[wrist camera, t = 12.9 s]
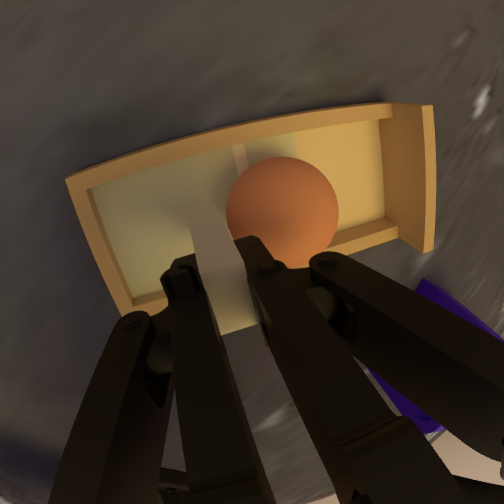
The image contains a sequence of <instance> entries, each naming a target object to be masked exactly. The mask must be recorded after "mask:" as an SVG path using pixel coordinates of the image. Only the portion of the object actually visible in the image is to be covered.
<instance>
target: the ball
mask: <svg viewBox="0 0 504 504" xmlns="http://www.w3.org/2000/svg"><path fill="white" fill-rule="evenodd" d="M226 218H227V224H228V228H229V231H230V234H231V236H232V238H233V240H236V239H240V238H243V237H246V236H250V235H253V236H256V237H258V238H260V240H261V241H262V242H263V244H264V245H265V247H266V248H267V249H268V251H269V252H270V254H271V255H272V256H273V258H274V259H275V260H279V261H282V262H283V263H284V264H285V265H286V266H287V268H295V267H299V266H302V265H304V264H306V263H309V260H310V258H311V257H313V256H314V255H316V254H318V253H321V252H323V251H324V250H325V249H326V248H327V247H328V245H329V244H330V242H331V240H332V239H333V237H334V234H335V232H336V229H337V225H338V218H339V208H338V201H337V197H336V194H335V191H334V189H333V187H332V185H331V184H330V182H329V181H328V179H327V178H326V177H325V176H324V174H323V173H322V172H321V171H319V170H318V169H317V168H316V167H314V166H313V165H311V164H309V163H307V162H305V161H303V160H300V159H297V158H292V157H272V158H268V159H264V160H261V161H259V162H257V163H255V164H254V165H252V166H250V167H249V168H248V169H246V170H245V171H244V172H243V173H242V174H241V175H240V176H239V177H238V179H237V180H236V182H235V183H234V185H233V187H232V189H231V191H230V193H229V197H228V200H227V207H226Z"/></svg>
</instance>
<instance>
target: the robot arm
mask: <svg viewBox="0 0 504 504" xmlns="http://www.w3.org/2000/svg"><path fill="white" fill-rule="evenodd" d="M187 217H188V222H189V227H190V232H191V237H192V241H193V246H194V251H195V253H193V254H189V255H186V256H183V257H180V258H176V259H174V261H173V262H172V264H171V266H170V268H169V269H168V270H166V271H165V272H164V273H163V274H162V275H161V277H160V282H161V284H162V287H163V289H164V292H165V294H166V297H167V299H168V306H167V307H166V308H165V309H164V310H162V311H161V312H159V313H157V314H155V315H153V316H151V317H150V315H149V314H148V312H145V311H134V312H130V313H128V314H126V315H124V316H123V317H122V318H120V319H119V320H118V322H117V323H116V324H115V326H114V329H113V331H112V333H111V335H110V337H109V339H108V342H107V344H106V346H105V348H104V351H103V353H102V355H101V357H100V360H99V362H98V364H97V367H96V369H95V371H94V374H93V376H92V379H91V381H90V383H89V386H88V388H87V391H86V393H85V396H84V398H83V401H82V403H81V406H80V409H79V411H78V414H77V416H76V419H75V422H74V425H73V427H72V430H71V433H70V436H69V438H68V441H67V444H66V447H65V450H64V453H63V456H62V459H61V462H60V465H59V468H58V471H57V474H56V478H55V481H54V484H53V488H52V491H51V494H50V498H49V501H48V504H276V501H275V498H274V496H273V493H272V490H271V487H270V485H269V482H268V479H267V476H266V473H265V470H264V468H263V465H262V462H261V459H260V456H259V453H258V450H257V447H256V444H255V441H254V438H253V435H252V432H251V429H250V426H249V423H248V420H247V417H246V414H245V411H244V408H243V404H242V401H241V398H240V395H239V392H238V389H237V385H236V382H235V379H234V375H233V372H232V369H231V365H230V362H229V359H228V355H227V352H226V349H225V345H224V342H223V339H222V337H221V335H224V334H227V333H231V332H234V331H237V330H240V329H243V328H246V327H249V326H253V325H256V324H259V321H260V325H261V329H262V333H263V337H264V341H265V345H266V346H269V348H270V350H271V352H272V355H273V357H274V359H275V361H276V363H277V366H278V368H279V370H280V372H281V374H282V377H283V379H284V381H285V383H286V385H287V388H288V390H289V392H290V394H291V396H292V398H293V401H294V403H295V405H296V407H297V409H298V411H299V414H300V416H301V418H302V420H303V422H304V424H305V426H306V429H307V431H308V433H309V435H310V437H311V439H312V441H313V443H314V445H315V448H316V450H317V452H318V454H319V456H320V458H321V460H322V462H323V464H324V466H325V469H326V471H327V473H328V475H329V477H330V479H331V481H332V483H333V486H334V488H335V491H336V495H337V498H338V500H339V503H340V504H504V486H502V485H496V484H491V483H486V482H482V481H477V480H473V479H469V478H464V477H460V476H456V475H452V474H451V473H450V471H449V470H448V468H447V467H446V465H445V464H444V463H443V461H442V460H441V458H440V457H439V456H438V454H437V453H436V452H435V450H434V449H433V447H432V446H431V444H430V443H429V442H428V440H427V439H426V437H425V436H424V435H423V433H422V432H421V431H420V429H419V428H418V426H417V425H416V424H415V423H414V422H413V421H412V420H411V419H410V418H408V417H406V416H396V415H395V414H394V413H393V412H392V411H391V410H390V408H389V407H388V405H387V404H386V402H385V401H384V400H383V398H382V397H381V395H380V394H379V393H378V391H377V390H376V388H375V387H374V386H373V384H372V383H371V381H370V380H369V379H368V377H367V376H366V374H365V373H364V372H363V370H362V369H361V367H360V366H359V365H358V363H357V362H356V360H355V359H354V358H353V356H354V357H355V358H357V359H358V360H359V361H360V362H362V363H363V364H364V365H365V366H367V367H368V368H369V369H370V370H372V371H373V372H374V373H375V374H377V375H378V376H379V377H380V378H382V379H383V380H384V381H385V382H387V383H388V384H389V385H390V386H392V387H393V388H394V389H395V390H397V391H398V392H399V393H401V394H402V395H403V396H404V397H406V398H407V399H408V400H409V401H411V402H412V403H413V404H414V405H416V406H417V407H418V408H420V409H421V410H422V411H423V412H425V413H426V414H427V415H429V416H430V417H431V418H432V419H434V420H435V421H436V422H438V423H439V424H440V425H441V426H443V427H444V428H445V429H447V430H448V431H449V432H450V433H452V434H453V435H454V436H456V437H457V438H458V439H460V440H461V441H462V442H463V443H465V444H466V445H468V446H469V447H471V448H472V449H474V450H475V451H477V452H478V453H480V454H482V455H484V456H486V457H489V458H490V459H493V460H496V461H499V462H501V465H502V467H501V468H500V476H501V478H502V479H503V480H504V342H503V341H501V340H500V339H498V338H496V337H494V336H493V335H491V334H489V333H488V332H486V331H484V330H482V329H481V328H479V327H477V326H475V325H474V324H472V323H470V322H468V321H467V320H465V319H463V318H461V317H460V316H458V315H456V314H454V313H452V312H451V311H449V310H447V309H445V308H444V307H442V306H440V305H438V304H436V303H434V302H433V301H431V300H429V299H427V298H425V297H424V296H422V295H420V294H418V293H416V292H414V291H412V290H411V289H409V288H407V287H405V286H403V285H401V284H399V283H398V282H396V281H394V280H392V279H390V278H388V277H386V276H384V275H382V274H381V273H379V272H377V271H375V270H373V269H371V268H369V267H367V266H365V265H363V264H361V263H359V262H357V261H356V260H354V259H352V258H350V257H348V256H346V255H344V254H342V253H339V252H333V251H326V252H321V253H318V254H316V255H314V256H313V257H311V258H310V260H309V267H305V268H296V269H291V268H287V266H286V265H285V264H284V263H283V262H282V261H279V260H275V259H274V258H273V256H272V255H271V254H270V252H269V251H268V249H267V248H266V247H265V245H264V244H263V242H262V241H261V240H260V238H258V237H256V236H253V235H250V236H246V237H243V238H240V239H236V240H232V238H231V236H230V234H229V232H228V230H227V228H226V226H225V224H224V222H223V220H222V218H221V216H220V214H219V212H218V210H217V208H216V206H215V205H213V206H210V207H207V208H203V209H200V210H196V211H193V212H190V213H187ZM257 316H258V317H257ZM258 319H259V321H258ZM351 354H352V355H353V356H352V355H351ZM174 389H175V393H176V402H177V410H178V418H179V425H180V433H181V440H182V446H183V453H184V459H185V465H186V471H187V474H185V473H181V472H177V471H171V470H163V469H161V463H162V457H163V451H164V445H165V439H166V433H167V427H168V421H169V416H170V410H171V405H172V399H173V394H174Z"/></svg>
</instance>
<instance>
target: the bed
mask: <svg viewBox="0 0 504 504" xmlns="http://www.w3.org/2000/svg"><path fill="white" fill-rule="evenodd" d="M272 157H292V158H297V159H300V160H303V161H305V162H307V163H309V164H311V165H313V166H314V167H316V168H317V169H318V170H319V171H321V172H322V173H323V174H324V176H325V177H326V178H327V179H328V181H329V182H330V184H331V185H332V187H333V189H334V191H335V194H336V197H337V201H338V208H339V218H338V225H337V229H336V232H335V234H334V237H333V239H332V240H331V242H330V244H329V245H328V247H327V248H326V249H325V250H324V251H323V252H326V251H333V252H339V253H342V254H344V255H349V254H352V253H355V252H358V251H360V250H363V249H366V248H369V247H372V246H375V245H378V244H381V243H384V242H387V241H390V240H392V239H395V238H400V239H402V240H403V241H405V242H406V243H408V244H409V245H411V246H412V247H414V248H415V249H417V250H418V251H420V252H421V253H423V254H424V253H426V252H429V251H431V250H433V244H434V230H435V211H436V149H435V130H434V116H433V105H426V104H415V103H401V102H374V103H363V104H353V105H344V106H335V107H328V108H320V109H313V110H307V111H300V112H294V113H288V114H282V115H277V116H271V117H266V118H261V119H256V120H251V121H246V122H241V123H237V124H232V125H228V126H223V127H219V128H215V129H211V130H207V131H203V132H199V133H195V134H191V135H188V136H184V137H180V138H177V139H173V140H170V141H166V142H163V143H159V144H156V145H153V146H149V147H146V148H143V149H140V150H137V151H134V152H131V153H127V154H124V155H122V156H119V157H116V158H113V159H110V160H107V161H104V162H102V163H99V164H96V165H93V166H91V167H88V168H85V169H83V170H80V171H78V172H75V173H73V174H72V175H70V176H69V177H68V178H66V179H65V181H66V184H67V187H68V190H69V193H70V196H71V199H72V201H73V204H74V207H75V210H76V213H77V215H78V218H79V221H80V223H81V226H82V228H83V231H84V234H85V236H86V239H87V241H88V244H89V246H90V248H91V251H92V253H93V256H94V258H95V260H96V263H97V265H98V267H99V269H100V272H101V274H102V276H103V278H104V280H105V283H106V285H107V287H108V289H109V291H110V293H111V295H112V298H113V300H114V302H115V304H116V306H117V308H118V310H119V312H120V314H121V316H122V317H123V316H124V315H126V314H128V313H130V312H134V311H145V312H148V314H149V315H150V316H152V315H155V314H157V313H159V312H161V311H162V310H164V309H165V308H166V307H167V306H168V299H167V297H166V294H165V292H164V289H163V287H162V284H161V282H160V277H161V275H162V274H163V273H164V272H165V271H166V270H168V269H169V268H170V266H171V264H172V262H173V261H174V259H176V258H180V257H183V256H186V255H189V254H193V253H195V251H194V246H193V241H192V237H191V232H190V227H189V222H188V217H187V213H190V212H193V211H196V210H200V209H203V208H207V207H210V206H213V205H215V206H216V208H217V210H218V212H219V214H220V216H221V218H222V220H223V222H224V224H225V226H226V228H227V230H228V232H229V234H230V231H229V228H228V224H227V218H226V207H227V200H228V197H229V193H230V191H231V189H232V187H233V185H234V183H235V182H236V180H237V179H238V177H239V176H240V175H241V174H242V173H243V172H244V171H245V170H246V169H248V168H249V167H250V166H252V165H254V164H255V163H257V162H259V161H261V160H264V159H268V158H272ZM230 236H231V234H230ZM231 238H232V236H231ZM232 240H233V238H232ZM305 267H309V263H306V264H304V265H302V266H299V267H295V268H291V269H296V268H305Z"/></svg>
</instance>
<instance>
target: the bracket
mask: <svg viewBox="0 0 504 504" xmlns="http://www.w3.org/2000/svg"><path fill="white" fill-rule="evenodd" d="M415 292H416V293H418V294H420V295H422V296H424V297H425V298H427V299H429V300H431V301H433V302H434V303H436V304H438V305H440V306H442V307H444V308H445V309H447V310H449V311H451V312H452V313H454V314H456V315H458V316H460V317H461V318H463V319H465V320H467V321H468V322H470V323H472V324H474V325H475V326H477V327H479V328H481V329H482V330H484V331H486V332H488V333H489V334H491V335H493V336H494V337H496V338H498V339H500V340H501V341H503V342H504V340H503V339H502V338H501V337H500V336H499V335H498V334H497V333H496V332H494V331H493V330H492V329H491V328H490V327H488V326H487V325H486V324H485V323H484V322H483V321H481V320H480V319H479V318H478V317H477V316H475V315H474V314H473V313H472V312H470V311H469V310H468V309H467V308H466V307H464V306H463V305H462V304H461V303H459V302H458V301H457V300H456V299H454V298H453V297H452V296H450V295H449V294H448V293H447V292H445V291H444V290H443V289H441V288H439V287H438V286H436V285H434V284H432V283H431V282H429V281H427V280H425V279H424V278H423V280H422V281H421V283H420V284H419V286H418V288H417V289H416V291H415ZM366 367H367V366H366ZM367 368H368V367H367ZM368 370H369V371H370V372H371V374H372V375H373V376H374V378H375V379H376V380H377V382H378V383H379V384H380V386H381V387H382V388H383V390H384V391H385V392H386V394H387V395H388V396H389V398H390V399H391V400H392V402H393V403H394V405H395V406H396V407H397V409H398V410H399V411H400V413H401V414H402V415H403V416H406V417H408V418H410V419H411V420H412V421H413V422H414V423H415V424H416V425H417V426H418V428H419V429H420V431H421V432H422V433H423V434H427V433H432V432H437V431H442V430H446V429H445V428H444V427H443V426H441V425H440V424H439V423H438V422H436V421H435V420H434V419H432V418H431V417H430V416H429V415H427V414H426V413H425V412H423V411H422V410H421V409H420V408H418V407H417V406H416V405H414V404H413V403H412V402H411V401H409V400H408V399H407V398H406V397H404V396H403V395H402V394H401V393H399V392H398V391H397V390H395V389H394V388H393V387H392V386H390V385H389V384H388V383H387V382H385V381H384V380H383V379H382V378H380V377H379V376H378V375H377V374H375V373H374V372H373V371H372V370H370V369H369V368H368Z"/></svg>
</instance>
